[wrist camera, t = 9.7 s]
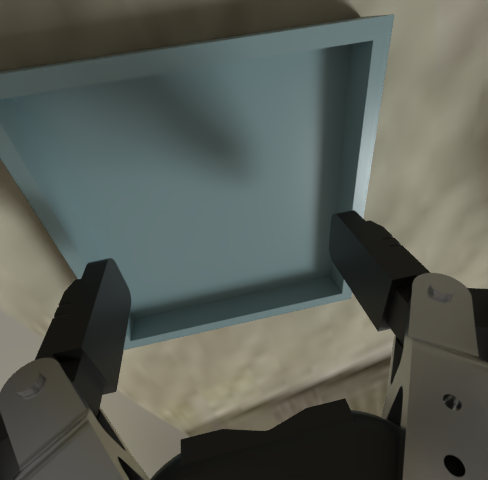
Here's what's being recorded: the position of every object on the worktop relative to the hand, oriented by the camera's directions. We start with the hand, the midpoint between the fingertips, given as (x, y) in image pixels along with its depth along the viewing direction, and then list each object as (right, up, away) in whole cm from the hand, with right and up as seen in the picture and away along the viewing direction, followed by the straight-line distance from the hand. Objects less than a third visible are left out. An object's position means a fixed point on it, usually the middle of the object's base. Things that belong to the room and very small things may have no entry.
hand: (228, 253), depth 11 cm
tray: (-1, +2, +3) cm, 4 cm away
